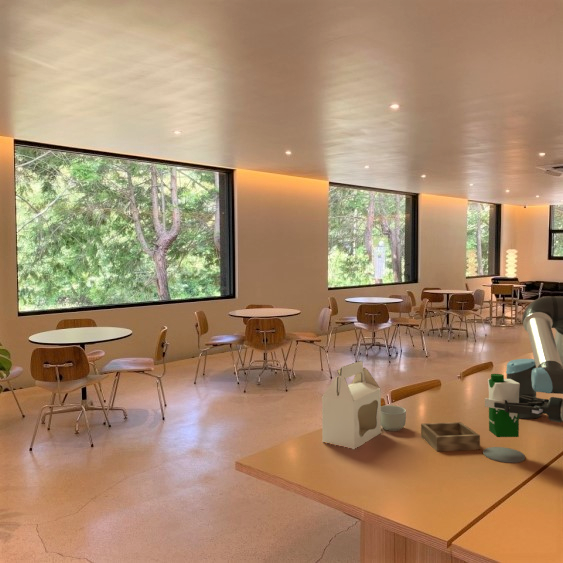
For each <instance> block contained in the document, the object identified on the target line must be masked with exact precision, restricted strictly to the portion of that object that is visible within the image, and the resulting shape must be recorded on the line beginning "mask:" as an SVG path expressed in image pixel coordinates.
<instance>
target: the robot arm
mask: <svg viewBox="0 0 563 563" xmlns="http://www.w3.org/2000/svg"><path fill="white" fill-rule="evenodd" d="M521 322H522V325H523V328H524V330H525V332H527V334H528V338H529V339H528V340H529V343H530V347H531V351H532V355H533V358H517V359H512V360H509V361H508V362H507V363H506V371H505V373H506V379H512V380H514V381H516V382H518V383H520V388H519V403H508V402H507V400H505V401H500V400H494V399H489V398H487V397H485V398H484V408H485V407H486V408H489V407H490V408H496V409H502V410H505V412H507V413H508V412H509V413H518V414H519V419H527V420H528V419H530V420H531V419H538V418H541V415H547V419H548V420H549V421H551V422H556V423H562V422H563V397H554V396H551V397H550V398H549V399H547V398H540V397H537V393H544V394H557V395H558V394H559V395H561V394H562V395H563V296H561V295H559V296H558V295H557V296H556V295H555V296H550V295H548V296H541V297H538V298H536V299H535V300H533V301H532V302H530V303H529V304H528V305H527V307H526V308H525V310H524V312H523V313H522V320H521ZM553 329H555V334H554V333H553ZM509 407H510V409H509Z"/></svg>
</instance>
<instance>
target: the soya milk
mask: <svg viewBox="0 0 563 563" xmlns="http://www.w3.org/2000/svg"><path fill="white" fill-rule="evenodd" d="M487 385H488V399H494V400H500V401H505V400H507V402H508V403H519V388H520V383H518V382H516V381H514V380H512V379H507V378H505V374H502V373H492V374H490V378H487ZM509 409H510V407H509ZM488 431H489V432H490V433H492V434H493V436H495V437H497V438H519V437H520V436H519V434H520V418H519V414H518V413H509V412H508V413H507V412H505V410H502V409H496V408H490V407H488Z"/></svg>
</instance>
